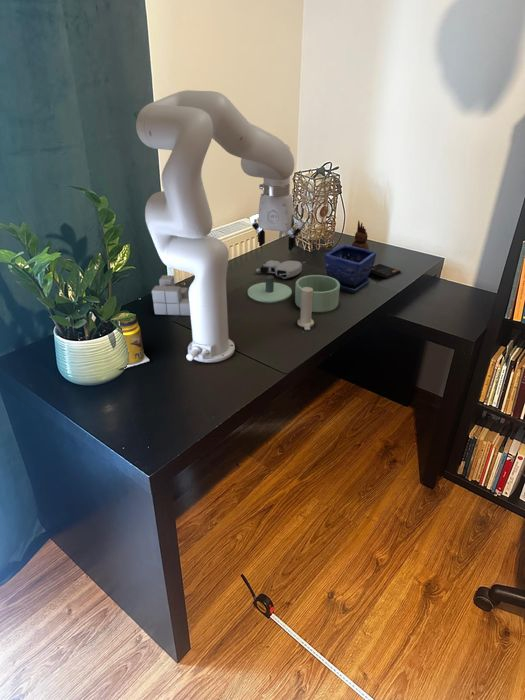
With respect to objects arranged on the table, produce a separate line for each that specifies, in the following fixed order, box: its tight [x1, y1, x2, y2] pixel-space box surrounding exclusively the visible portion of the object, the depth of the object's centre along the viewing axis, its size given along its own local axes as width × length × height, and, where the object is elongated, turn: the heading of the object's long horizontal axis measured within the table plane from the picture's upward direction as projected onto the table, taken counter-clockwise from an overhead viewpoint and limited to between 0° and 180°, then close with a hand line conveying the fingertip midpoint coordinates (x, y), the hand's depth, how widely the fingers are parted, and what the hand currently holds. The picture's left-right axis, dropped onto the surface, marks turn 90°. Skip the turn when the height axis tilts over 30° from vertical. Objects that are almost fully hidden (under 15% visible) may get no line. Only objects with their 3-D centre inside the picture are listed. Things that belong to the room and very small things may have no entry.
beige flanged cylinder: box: [296, 287, 315, 331], centre depth 143 cm, size 9×5×12 cm, turn 3°
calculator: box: [370, 263, 401, 279], centre depth 178 cm, size 9×12×3 cm
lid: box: [247, 275, 293, 303], centre depth 162 cm, size 15×15×6 cm
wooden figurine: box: [351, 220, 370, 261], centre depth 186 cm, size 7×6×15 cm
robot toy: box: [255, 259, 306, 280], centre depth 177 cm, size 12×4×15 cm
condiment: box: [120, 315, 150, 369], centre depth 127 cm, size 7×8×12 cm
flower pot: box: [324, 244, 377, 294], centre depth 166 cm, size 13×13×12 cm
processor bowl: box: [294, 274, 341, 313], centre depth 156 cm, size 14×14×7 cm
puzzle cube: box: [151, 274, 191, 317], centre depth 154 cm, size 12×12×8 cm
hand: (276, 246), depth 152 cm, fingers open, 9 cm apart
